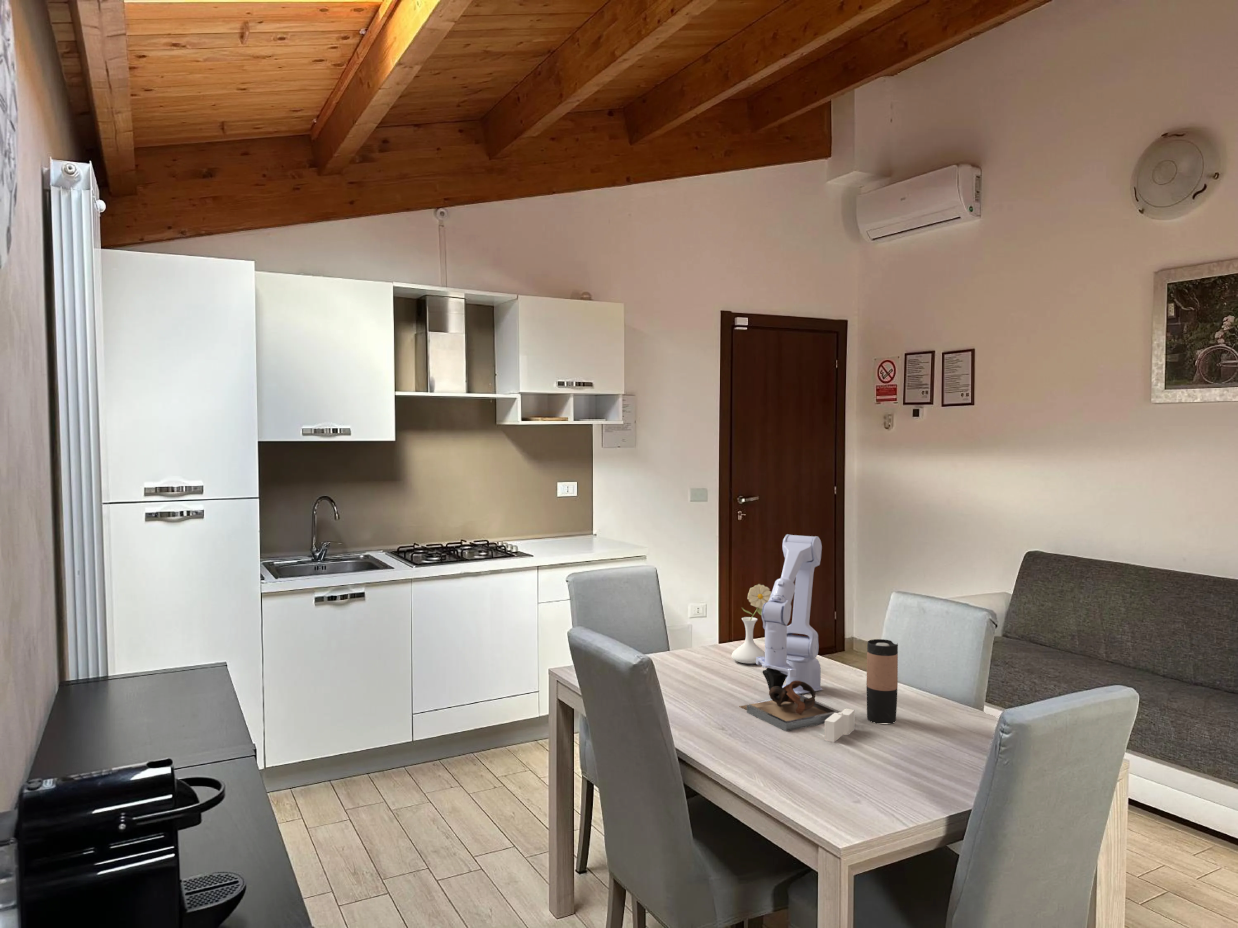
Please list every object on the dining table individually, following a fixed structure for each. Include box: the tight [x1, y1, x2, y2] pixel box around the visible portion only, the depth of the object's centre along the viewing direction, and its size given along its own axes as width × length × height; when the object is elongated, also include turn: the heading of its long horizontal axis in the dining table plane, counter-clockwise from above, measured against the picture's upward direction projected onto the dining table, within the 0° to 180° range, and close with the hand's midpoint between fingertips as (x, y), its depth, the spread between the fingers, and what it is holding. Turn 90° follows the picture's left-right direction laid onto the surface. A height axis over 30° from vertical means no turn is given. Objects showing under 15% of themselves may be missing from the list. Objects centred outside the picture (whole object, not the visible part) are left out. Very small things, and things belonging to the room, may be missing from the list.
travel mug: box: [865, 638, 899, 724], centre depth 226 cm, size 8×8×20 cm
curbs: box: [746, 694, 841, 732], centre depth 229 cm, size 18×16×2 cm
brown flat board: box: [738, 699, 827, 721], centre depth 232 cm, size 16×20×2 cm
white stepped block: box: [824, 708, 856, 743], centre depth 216 cm, size 15×11×6 cm
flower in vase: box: [730, 583, 772, 664], centre depth 280 cm, size 13×11×25 cm
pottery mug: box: [768, 681, 817, 714], centre depth 232 cm, size 12×9×8 cm
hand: (775, 696), depth 236 cm, fingers closed
